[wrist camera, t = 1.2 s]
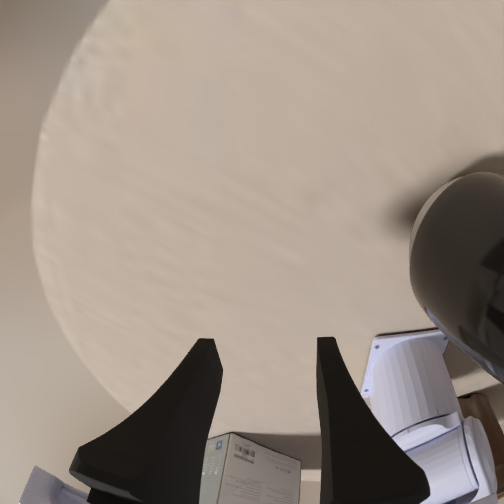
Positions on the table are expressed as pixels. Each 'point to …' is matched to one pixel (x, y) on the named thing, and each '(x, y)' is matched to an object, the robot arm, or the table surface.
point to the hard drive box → (247, 473)
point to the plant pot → (488, 432)
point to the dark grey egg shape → (463, 266)
